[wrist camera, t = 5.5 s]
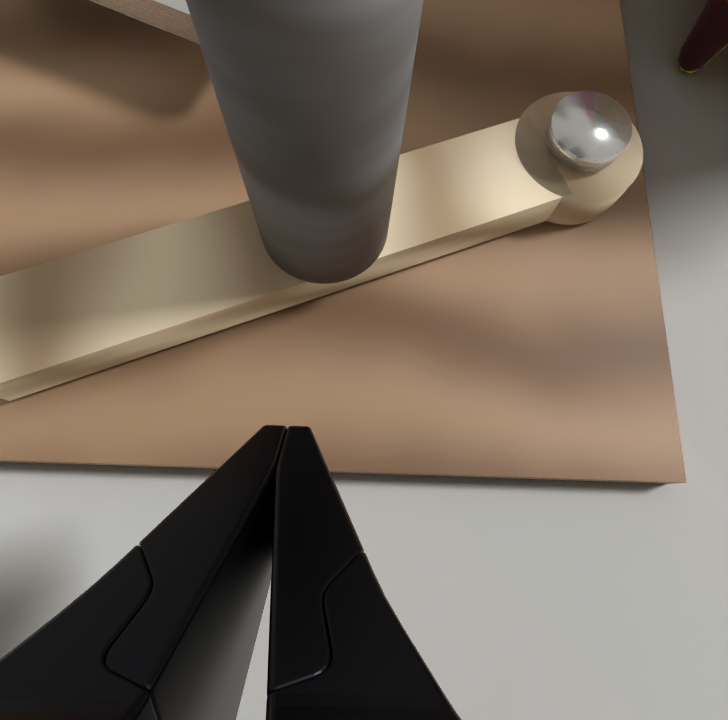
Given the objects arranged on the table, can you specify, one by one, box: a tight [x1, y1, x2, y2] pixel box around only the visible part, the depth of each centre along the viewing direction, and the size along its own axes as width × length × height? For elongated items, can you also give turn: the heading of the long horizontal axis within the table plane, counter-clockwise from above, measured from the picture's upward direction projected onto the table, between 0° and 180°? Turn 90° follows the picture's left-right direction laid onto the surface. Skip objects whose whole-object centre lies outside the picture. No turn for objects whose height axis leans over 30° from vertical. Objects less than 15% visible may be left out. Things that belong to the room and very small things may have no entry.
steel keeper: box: [89, 0, 633, 172], centre depth 20 cm, size 26×5×4 cm, turn 66°
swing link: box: [0, 0, 643, 401], centre depth 14 cm, size 24×5×12 cm, turn 111°
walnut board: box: [0, 0, 686, 484], centre depth 21 cm, size 24×28×1 cm
